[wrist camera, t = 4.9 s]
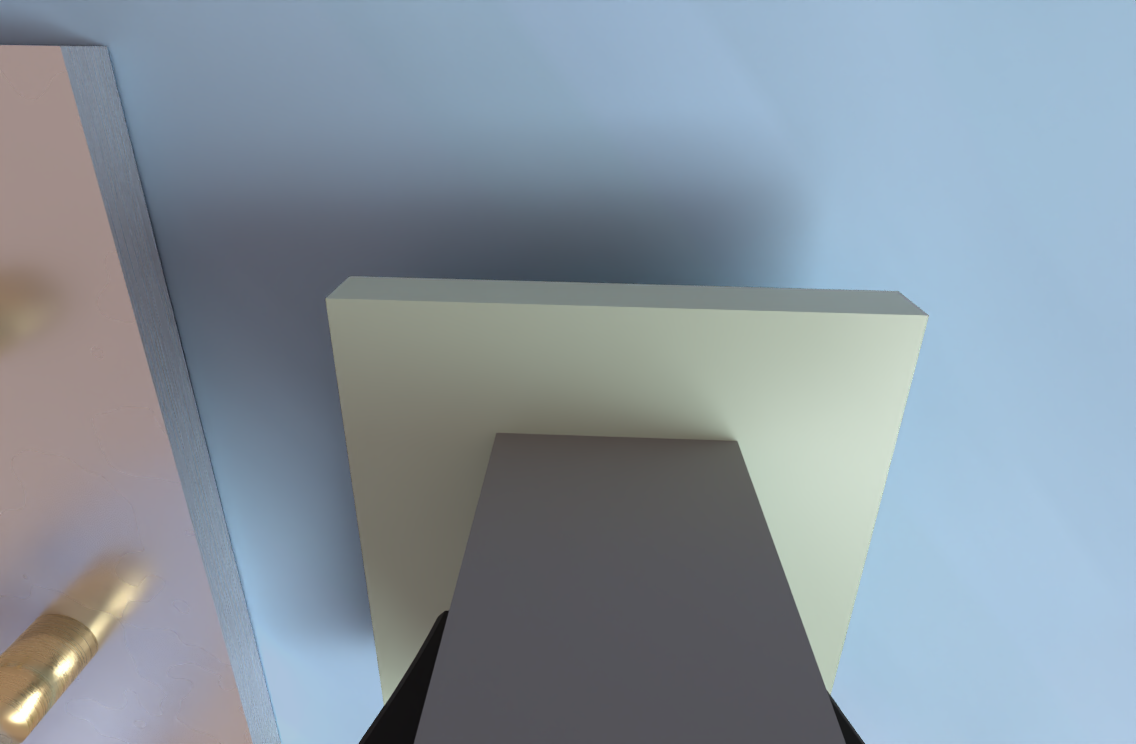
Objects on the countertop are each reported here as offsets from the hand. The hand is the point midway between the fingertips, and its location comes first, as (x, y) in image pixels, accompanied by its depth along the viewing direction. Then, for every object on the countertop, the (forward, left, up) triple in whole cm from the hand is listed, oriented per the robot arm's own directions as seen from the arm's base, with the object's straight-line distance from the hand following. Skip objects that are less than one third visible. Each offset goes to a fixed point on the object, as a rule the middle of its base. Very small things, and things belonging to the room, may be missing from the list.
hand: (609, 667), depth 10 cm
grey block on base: (0, 0, -2) cm, 2 cm away
